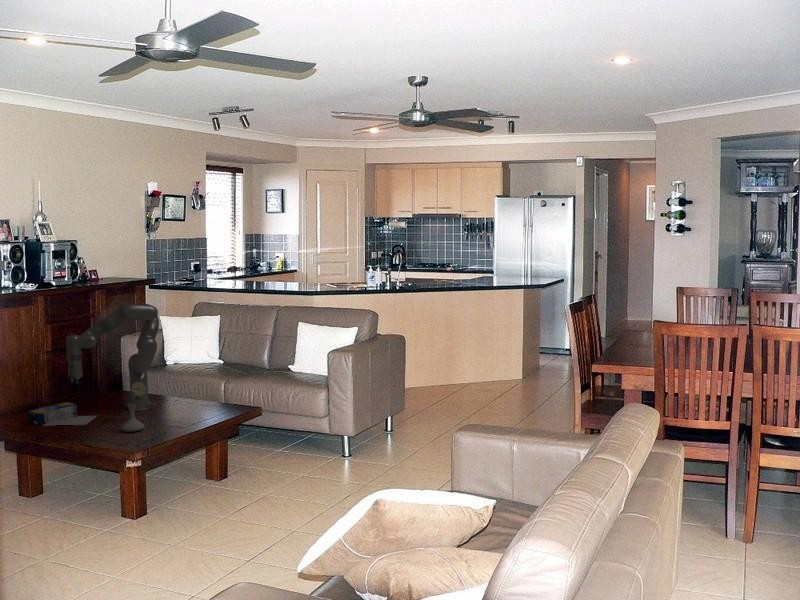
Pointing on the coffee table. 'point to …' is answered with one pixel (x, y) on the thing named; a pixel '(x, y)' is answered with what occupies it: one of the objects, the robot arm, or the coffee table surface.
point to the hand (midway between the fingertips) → (75, 391)
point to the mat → (72, 421)
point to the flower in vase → (133, 423)
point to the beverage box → (52, 413)
